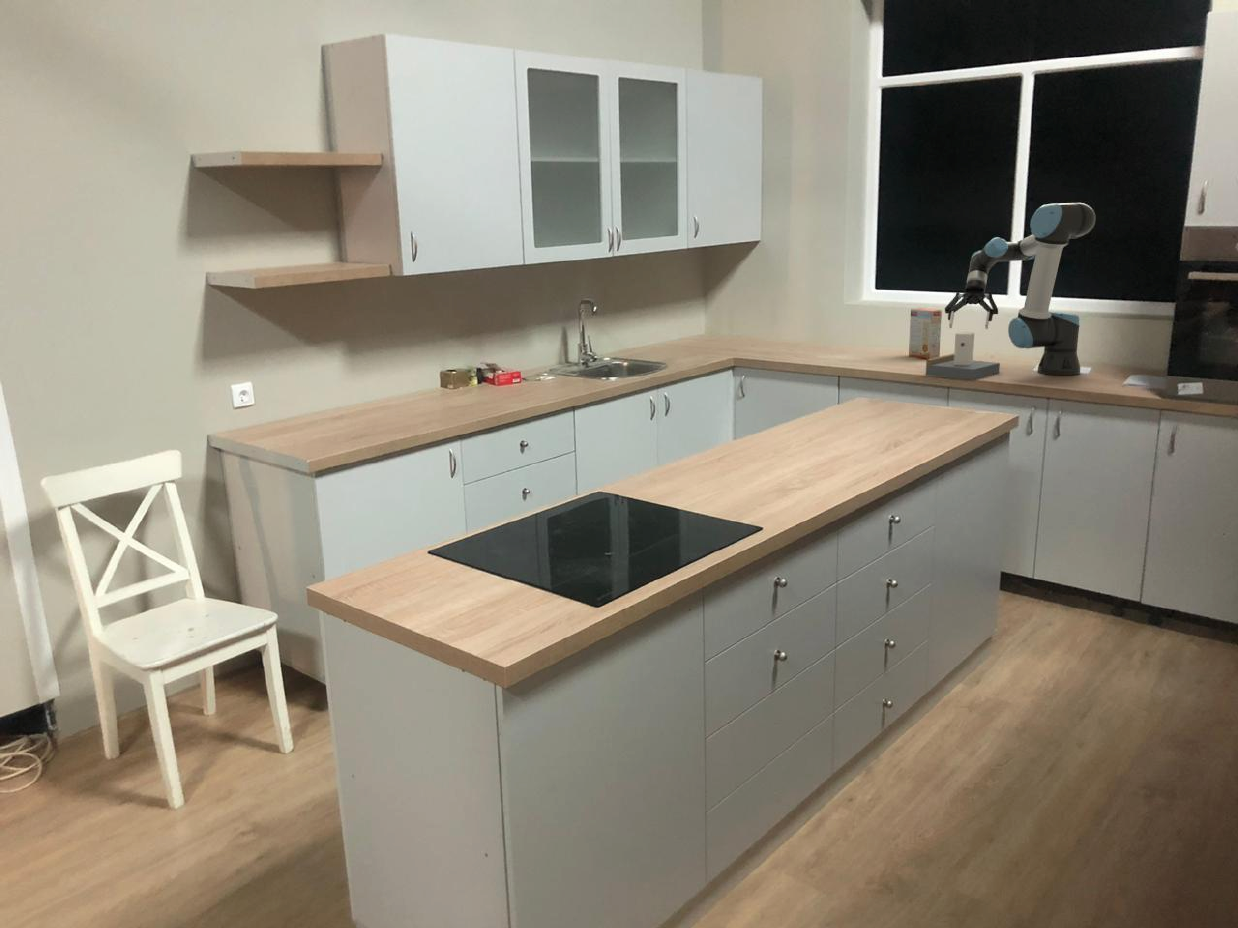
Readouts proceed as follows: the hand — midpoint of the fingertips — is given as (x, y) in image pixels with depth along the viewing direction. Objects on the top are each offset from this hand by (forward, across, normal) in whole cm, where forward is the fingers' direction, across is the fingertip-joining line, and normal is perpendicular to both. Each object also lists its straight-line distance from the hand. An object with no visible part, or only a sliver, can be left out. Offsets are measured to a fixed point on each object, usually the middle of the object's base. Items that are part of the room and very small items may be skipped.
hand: (968, 326), depth 387 cm
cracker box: (-10, +22, -35) cm, 42 cm away
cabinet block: (+16, 0, -3) cm, 16 cm away
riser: (+19, 0, -6) cm, 20 cm away
